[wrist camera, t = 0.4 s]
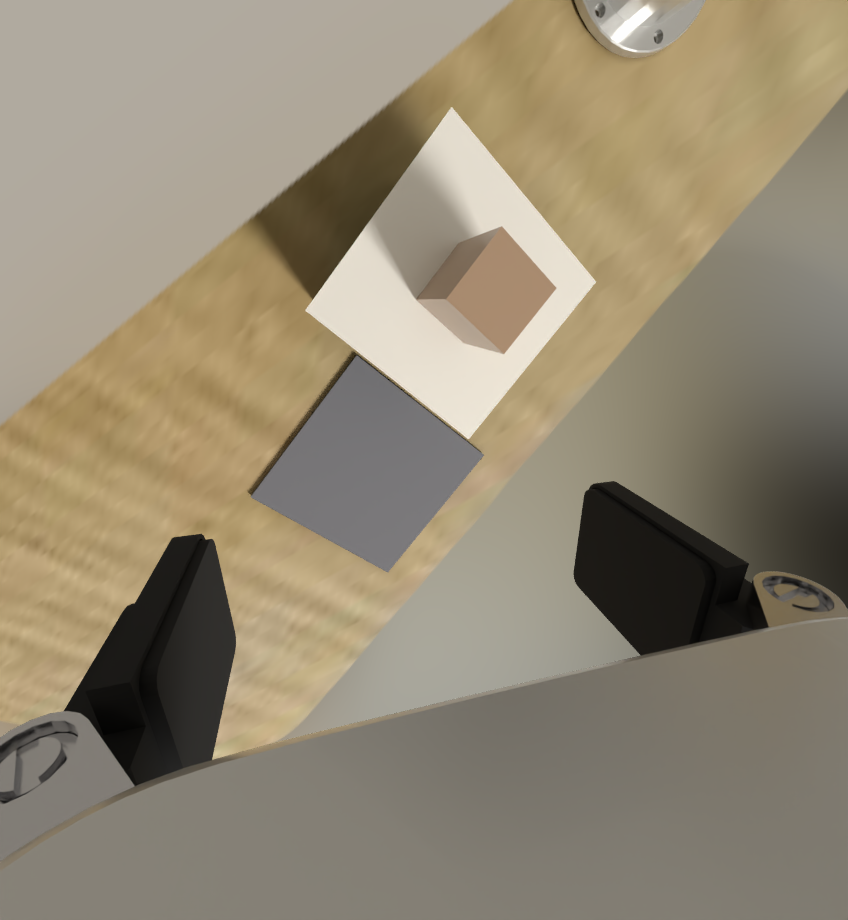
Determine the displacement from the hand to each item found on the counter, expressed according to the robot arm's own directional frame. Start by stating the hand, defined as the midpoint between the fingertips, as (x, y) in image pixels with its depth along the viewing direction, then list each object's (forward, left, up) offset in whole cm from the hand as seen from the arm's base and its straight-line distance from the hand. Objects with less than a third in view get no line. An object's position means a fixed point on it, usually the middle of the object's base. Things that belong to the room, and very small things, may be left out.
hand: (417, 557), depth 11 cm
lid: (-9, +1, -18) cm, 21 cm away
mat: (+6, +8, -29) cm, 31 cm away
